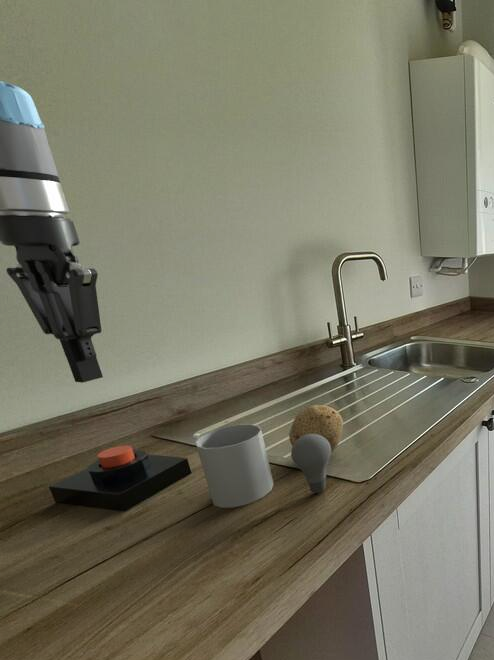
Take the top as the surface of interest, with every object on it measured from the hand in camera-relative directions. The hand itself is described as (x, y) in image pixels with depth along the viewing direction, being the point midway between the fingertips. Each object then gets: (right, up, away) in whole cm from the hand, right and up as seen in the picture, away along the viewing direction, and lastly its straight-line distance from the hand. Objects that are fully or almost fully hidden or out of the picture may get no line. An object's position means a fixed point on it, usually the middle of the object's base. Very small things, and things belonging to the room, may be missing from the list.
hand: (89, 379), depth 63 cm
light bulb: (+35, -18, +2) cm, 39 cm away
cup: (+23, -18, +2) cm, 29 cm away
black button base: (+3, -18, +4) cm, 18 cm away
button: (+3, -13, +2) cm, 14 cm away
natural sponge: (+30, -14, +13) cm, 36 cm away
